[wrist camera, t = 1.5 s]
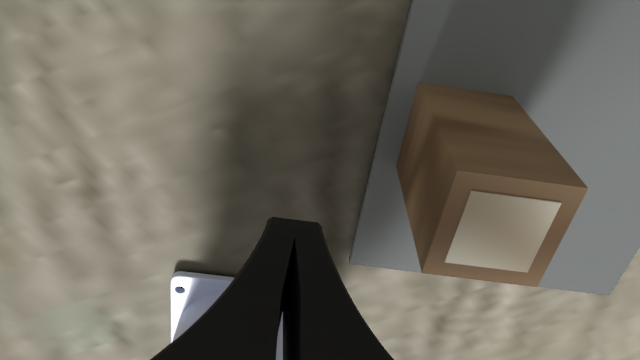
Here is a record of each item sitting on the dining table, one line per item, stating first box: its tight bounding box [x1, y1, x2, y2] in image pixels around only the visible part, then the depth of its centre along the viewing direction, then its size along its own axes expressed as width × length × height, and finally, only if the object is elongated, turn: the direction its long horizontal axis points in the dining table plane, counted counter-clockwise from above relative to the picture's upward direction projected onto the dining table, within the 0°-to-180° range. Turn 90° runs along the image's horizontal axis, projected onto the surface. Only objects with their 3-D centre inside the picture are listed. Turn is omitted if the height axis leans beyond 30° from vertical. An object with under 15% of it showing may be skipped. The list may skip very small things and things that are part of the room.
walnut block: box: [396, 82, 588, 287], centre depth 19 cm, size 4×4×7 cm
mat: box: [349, 0, 640, 295], centre depth 22 cm, size 16×14×1 cm
